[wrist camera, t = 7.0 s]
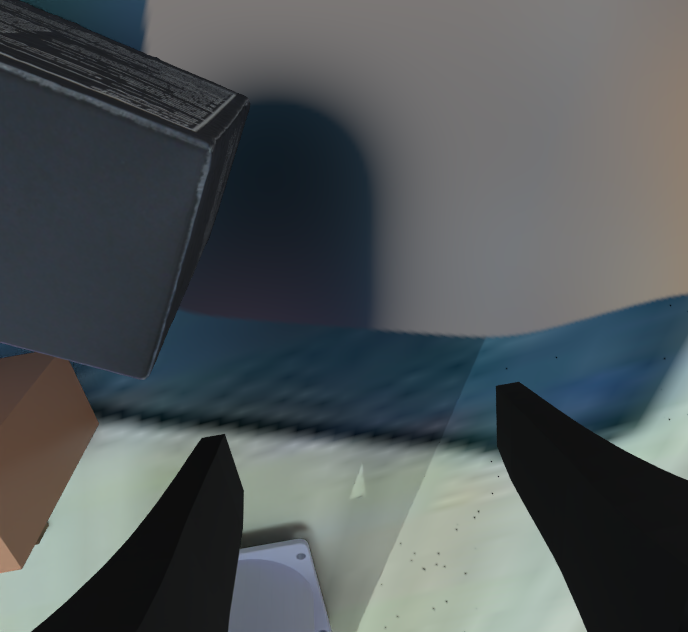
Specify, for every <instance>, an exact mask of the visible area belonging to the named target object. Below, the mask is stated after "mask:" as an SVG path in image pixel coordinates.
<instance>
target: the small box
mask: <svg viewBox="0 0 688 632" xmlns="http://www.w3.org/2000/svg"><path fill="white" fill-rule="evenodd" d="M249 109H250V102H249V99H248V98H247V97H246V96H244V95H242V94H239V93H236V92H234V91H232V90H229V89H227V88H225V87H223V86H221V85H218V84H216V83H214V82H211V81H209V80H206V79H204V78H201V77H199V76H197V75H195V74H192V73H190V72H188V71H185V70H182V69H180V68H177V67H175V66H173V65H171V64H168V63H166V62H164V61H161V60H160V59H159V58H157V57H152V56H150V55H147V54H145V53H143V52H140V51H137V50H135V49H133V48H131V47H129V46H126V45H123V44H121V43H118V42H116V41H113V40H111V39H109V38H106V37H104V36H102V35H100V34H98V33H95V32H92V31H90V30H88V29H85V28H83V27H81V26H80V25H78V24H77V23H74V22H71V21H68V20H65V19H62V18H60V17H59V16H57V15H52V14H49V13H47V12H45V11H43V10H41V9H38V8H35V7H33V6H31V5H30V4H28V3H25V2H22V1H19V0H0V343H4V344H8V345H11V346H15V347H19V348H23V349H27V350H31V351H34V352H38V353H42V354H46V355H50V356H53V357H57V358H61V359H65V360H69V361H72V362H76V363H80V364H84V365H88V366H91V367H95V368H99V369H102V370H106V371H110V372H114V373H117V374H121V375H125V376H129V377H133V378H136V379H145V378H147V377H148V376H149V375H150V373H151V371H152V369H153V366H154V364H155V362H156V360H157V357H158V355H159V352H160V350H161V347H162V345H163V343H164V340H165V337H166V335H167V333H168V330H169V328H170V326H171V323H172V322H173V320H174V317H175V315H176V312H177V310H178V308H179V306H180V303H181V301H182V298H183V296H184V294H185V291H186V289H187V287H188V285H189V282H190V280H191V278H192V276H193V274H194V271H195V268H196V266H197V263H198V261H199V259H200V257H201V254H202V252H203V250H204V247H205V245H206V244H207V241H208V240H209V237H210V234H211V231H212V227H213V225H214V222H215V219H216V215H217V213H218V210H219V207H220V203H221V200H222V196H223V193H224V190H225V187H226V183H227V180H228V177H229V174H230V170H231V167H232V164H233V161H234V157H235V154H236V151H237V147H238V144H239V141H240V138H241V135H242V131H243V128H244V125H245V121H246V118H247V115H248V112H249Z"/></svg>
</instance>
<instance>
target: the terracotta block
mask: <svg viewBox="0 0 688 632" xmlns="http://www.w3.org/2000/svg"><path fill="white" fill-rule="evenodd" d="M98 425H99V423H98V421H97V419H96V416H95V414H94V412H93V410H92V408H91V406H90V404H89V402H88V400H87V398H86V395H85V393H84V391H83V389H82V387H81V385H80V383H79V381H78V379H77V377H76V374H75V372H74V370H73V368H72V366H71V364H70V362H69V360H65V359H61V358H57V357H53V356H50V355H46V354H42V353H38V352H34V353H28V354H23V355H17V356H12V357H6V358H1V359H0V573H3V572H9V571H14V570H20V569H22V568H23V566H24V564H25V563H26V561H27V559H28V557H29V555H30V553H31V551H32V549H33V547H34V546H35V544H36V542H37V540H38V538H39V536H40V534H41V532H42V530H43V529H44V527H45V525H46V523H47V521H48V519H49V517H50V515H51V514H52V512H53V510H54V508H55V506H56V504H57V502H58V500H59V498H60V497H61V495H62V493H63V491H64V489H65V487H66V485H67V483H68V481H69V480H70V478H71V476H72V474H73V472H74V470H75V468H76V466H77V464H78V463H79V461H80V459H81V457H82V455H83V453H84V451H85V449H86V448H87V446H88V444H89V442H90V440H91V438H92V436H93V434H94V432H95V431H96V429H97V427H98Z"/></svg>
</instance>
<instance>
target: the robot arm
mask: <svg viewBox="0 0 688 632" xmlns="http://www.w3.org/2000/svg"><path fill="white" fill-rule="evenodd" d="M496 415H497V447H498V449H499V452H500V454H501V457H502V460H503V462H504V465H505V467H506V469H507V472H508V474H509V477H510V479H511V481H512V483H513V485H514V487H515V488H516V490H517V492H518V494H519V496H520V497H521V499H522V501H523V503H524V505H525V507H526V508H527V510H528V512H529V514H530V515H531V517H532V519H533V521H534V523H535V524H536V526H537V528H538V530H539V531H540V533H541V535H542V537H543V538H544V540H545V542H546V544H547V546H548V547H549V549H550V551H551V553H552V554H553V556H554V558H555V560H556V562H557V564H558V566H559V568H560V570H561V572H562V574H563V577H564V579H565V581H566V584H567V586H568V588H569V590H570V593H571V595H572V597H573V599H574V602H575V604H576V606H577V608H578V611H579V613H580V616H581V618H582V620H583V623H584V625H585V627H586V630H587V632H688V480H686V479H683V478H681V477H678V476H676V475H674V474H671V473H669V472H667V471H665V470H663V469H660V468H658V467H656V466H654V465H652V464H650V463H648V462H646V461H644V460H642V459H640V458H638V457H636V456H634V455H632V454H630V453H628V452H626V451H624V450H623V449H621V448H619V447H617V446H615V445H614V444H612V443H610V442H609V441H607V440H605V439H603V438H602V437H600V436H598V435H597V434H595V433H593V432H592V431H590V430H589V429H587V428H585V427H584V426H582V425H581V424H579V423H577V422H576V421H574V420H573V419H571V418H570V417H568V416H567V415H565V414H564V413H562V412H561V411H560V410H558V409H557V408H555V407H554V406H552V405H551V404H550V403H548V402H547V401H545V400H544V399H542V398H541V397H540V396H538V395H537V394H535V393H534V392H533V391H531V390H530V389H528V388H527V387H526V386H524V385H523V384H521V383H520V382H515V383H510V384H504V385H498V386H496ZM243 505H244V490H243V487H242V484H241V481H240V478H239V475H238V472H237V469H236V466H235V463H234V460H233V457H232V454H231V451H230V448H229V445H228V442H227V439H226V436H225V434H222V435H216V436H210V437H205V438H202V439H201V440H200V441H199V443H198V444H197V446H196V447H195V448H194V450H193V451H192V453H191V454H190V456H189V457H188V459H187V460H186V462H185V463H184V465H183V466H182V468H181V469H180V471H179V472H178V474H177V475H176V477H175V478H174V480H173V481H172V482H171V484H170V485H169V487H168V488H167V489H166V491H165V492H164V494H163V495H162V496H161V498H160V499H159V501H158V502H157V503H156V505H155V506H154V507H153V509H152V510H151V511H150V512H149V514H148V515H147V516H146V518H145V519H144V520H143V521H142V523H141V524H140V525H139V526H138V528H137V529H136V530H135V532H134V533H133V534H132V535H131V536H130V537H129V539H128V540H127V541H126V542H125V543H124V544H123V545H122V547H121V548H120V549H119V550H118V551H117V552H116V553H115V554H114V555H113V556H112V557H111V559H110V560H109V561H108V562H107V563H106V564H105V565H104V566H103V567H102V568H101V569H100V570H99V571H98V572H97V573H96V574H95V575H94V576H93V577H92V578H91V579H90V580H89V581H88V582H86V583H85V584H84V585H83V586H82V587H81V588H80V589H79V590H78V591H77V592H76V593H75V594H74V595H73V596H72V597H71V598H70V599H69V600H68V601H67V602H65V603H64V604H63V605H62V606H61V607H60V608H59V609H57V610H56V611H55V612H54V613H53V614H52V615H51V616H49V617H48V618H47V619H46V620H45V621H44V622H42V623H41V624H40V625H39V626H37V627H36V628H35V629H34V630H33V631H31V632H332V630H331V626H330V623H329V619H328V615H327V611H326V608H325V604H324V600H323V597H322V593H321V589H320V586H319V582H318V578H317V574H316V571H315V567H314V563H313V560H312V556H311V552H310V548H309V545H308V542H307V541H306V540H304V539H293V540H287V541H282V542H276V543H271V544H265V545H260V546H254V547H248V548H243V549H240V544H241V537H242V530H243ZM299 553H302V554H299Z"/></svg>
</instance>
